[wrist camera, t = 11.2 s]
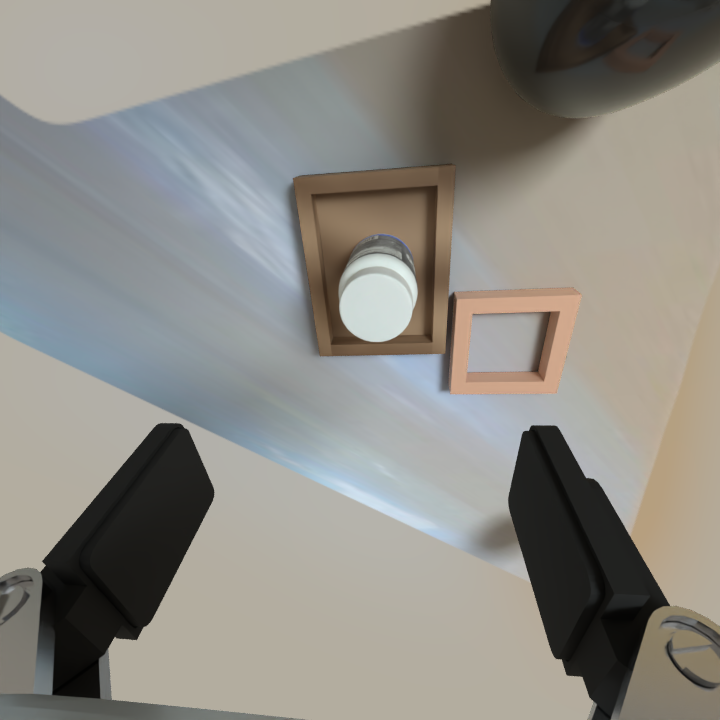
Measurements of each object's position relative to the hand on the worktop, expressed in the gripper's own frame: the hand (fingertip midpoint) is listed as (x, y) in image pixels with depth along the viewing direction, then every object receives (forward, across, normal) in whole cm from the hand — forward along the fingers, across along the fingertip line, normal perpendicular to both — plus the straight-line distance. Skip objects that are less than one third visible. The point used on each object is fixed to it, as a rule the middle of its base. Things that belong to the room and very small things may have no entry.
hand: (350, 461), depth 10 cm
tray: (+20, 0, 0) cm, 20 cm away
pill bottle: (+19, 0, 0) cm, 19 cm away
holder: (+20, -10, +7) cm, 23 cm away
